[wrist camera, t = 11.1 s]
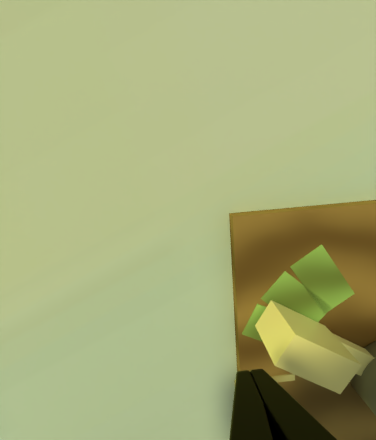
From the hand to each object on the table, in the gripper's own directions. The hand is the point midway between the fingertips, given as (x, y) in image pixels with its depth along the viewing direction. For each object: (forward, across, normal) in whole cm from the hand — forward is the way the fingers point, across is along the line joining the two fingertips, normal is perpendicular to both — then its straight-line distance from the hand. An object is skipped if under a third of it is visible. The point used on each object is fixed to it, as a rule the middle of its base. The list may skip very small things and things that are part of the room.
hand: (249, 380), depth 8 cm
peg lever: (+11, -10, +9) cm, 17 cm away
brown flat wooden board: (+12, -12, +8) cm, 19 cm away
